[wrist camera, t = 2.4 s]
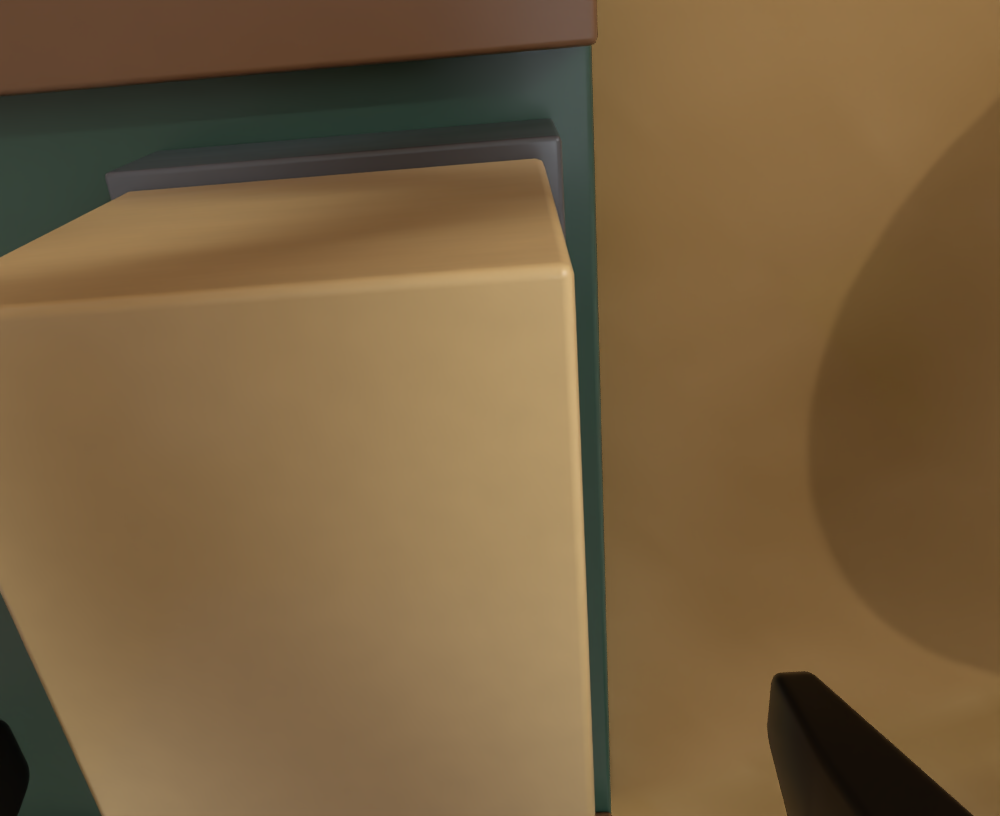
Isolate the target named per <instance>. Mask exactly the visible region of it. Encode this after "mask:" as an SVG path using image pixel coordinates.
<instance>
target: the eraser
mask: <svg viewBox="0 0 1000 816" xmlns="http://www.w3.org/2000/svg"><path fill="white" fill-rule="evenodd" d="M105 180H106V184H107V187H108V191H109V194H110V198H111V201H110V202H108V203H106V204H104V205H102V206H100V207H98V208H96V209H94V210H92V211H90V212H88V213H86V214H84V215H82V216H80V217H78V218H77V219H75V220H73V221H71V222H69V223H67V224H65V225H63V226H61V227H59V228H57V229H55V230H53V231H51V232H49V233H47V234H45V235H43V236H41V237H39V238H37V239H35V240H33V241H31V242H29V243H28V244H26V245H24V246H22V247H20V248H18V249H16V250H14V251H12V252H10V253H8V254H6V255H4V256H2V257H0V593H1V595H2V597H3V599H4V601H5V604H6V606H7V608H8V610H9V612H10V615H11V617H12V619H13V621H14V624H15V626H16V628H17V630H18V632H19V635H20V637H21V639H22V641H23V643H24V646H25V648H26V650H27V652H28V654H29V657H30V659H31V661H32V663H33V665H34V668H35V670H36V672H37V674H38V676H39V679H40V681H41V683H42V685H43V688H44V690H45V692H46V694H47V696H48V699H49V701H50V703H51V705H52V707H53V710H54V712H55V714H56V716H57V718H58V721H59V723H60V725H61V727H62V729H63V732H64V734H65V736H66V738H67V740H68V743H69V745H70V747H71V749H72V751H73V754H74V756H75V758H76V760H77V763H78V765H79V767H80V769H81V771H82V774H83V776H84V778H85V780H86V782H87V785H88V787H89V789H90V791H91V793H92V796H93V798H94V800H95V802H96V804H97V807H98V809H99V811H100V813H101V815H102V816H595V794H594V768H593V743H592V717H591V691H590V665H589V640H588V614H587V588H586V563H585V537H584V511H583V486H582V460H581V434H580V409H579V383H578V357H577V331H576V306H575V280H574V271H573V268H572V264H571V261H570V257H569V253H568V250H567V246H566V234H565V211H564V188H563V164H562V141H561V138H560V136H559V134H558V132H557V130H556V127H555V125H554V123H553V121H552V120H551V119H536V120H524V121H512V122H500V123H488V124H476V125H464V126H452V127H440V128H428V129H416V130H404V131H392V132H380V133H368V134H356V135H344V136H332V137H320V138H308V139H296V140H284V141H272V142H260V143H248V144H236V145H224V146H212V147H200V148H188V149H176V150H164V151H156V152H154V153H151V154H149V155H147V156H144V157H142V158H140V159H137V160H135V161H133V162H131V163H128V164H126V165H124V166H121V167H119V168H117V169H114V170H112V171H110V172H108V173H106V174H105Z"/></svg>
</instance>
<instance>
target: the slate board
mask: <svg viewBox="0 0 1000 816" xmlns="http://www.w3.org/2000/svg"><path fill="white" fill-rule="evenodd" d="M597 37H598V32H597V0H0V257H2V256H4V255H6V254H8V253H10V252H12V251H14V250H16V249H18V248H20V247H22V246H24V245H26V244H28V243H29V242H31V241H33V240H35V239H37V238H39V237H41V236H43V235H45V234H47V233H49V232H51V231H53V230H55V229H57V228H59V227H61V226H63V225H65V224H67V223H69V222H71V221H73V220H75V219H77V218H78V217H80V216H82V215H84V214H86V213H88V212H90V211H92V210H94V209H96V208H98V207H100V206H102V205H104V204H106V203H108V202H110V201H111V198H110V194H109V191H108V187H107V184H106V180H105V174H106V173H108V172H110V171H112V170H114V169H117V168H119V167H121V166H124V165H126V164H128V163H131V162H133V161H135V160H137V159H140V158H142V157H144V156H147V155H149V154H151V153H154V152H156V151H164V150H176V149H188V148H200V147H212V146H224V145H236V144H248V143H260V142H272V141H284V140H296V139H308V138H320V137H332V136H344V135H356V134H368V133H380V132H392V131H404V130H416V129H428V128H440V127H452V126H464V125H476V124H488V123H500V122H512V121H524V120H536V119H551V120H552V121H553V123H554V125H555V127H556V130H557V132H558V134H559V136H560V138H561V141H562V164H563V188H564V211H565V234H566V246H567V250H568V253H569V257H570V261H571V264H572V268H573V271H574V280H575V306H576V331H577V357H578V383H579V409H580V434H581V460H582V486H583V511H584V537H585V563H586V588H587V614H588V640H589V665H590V691H591V717H592V743H593V768H594V794H595V816H612V815H611V789H610V750H609V711H608V672H607V633H606V594H605V555H604V516H603V477H602V438H601V399H600V360H599V321H598V282H597V243H596V204H595V165H594V126H593V87H592V48H591V45H592V44H594V43H596V40H597ZM0 720H3V721H5V722H6V723H7V724H8V725H9V726H10V728H11V730H12V732H13V734H14V736H15V738H16V740H17V742H18V744H19V746H20V748H21V750H22V753H23V755H24V757H25V759H26V761H27V763H28V766H29V771H30V776H29V784H28V788H27V791H26V794H25V797H24V800H23V802H22V805H21V808H20V811H19V814H18V816H102V815H101V813H100V811H99V809H98V807H97V804H96V802H95V800H94V798H93V796H92V793H91V791H90V789H89V787H88V785H87V782H86V780H85V778H84V776H83V774H82V771H81V769H80V767H79V765H78V763H77V760H76V758H75V756H74V754H73V751H72V749H71V747H70V745H69V743H68V740H67V738H66V736H65V734H64V732H63V729H62V727H61V725H60V723H59V721H58V718H57V716H56V714H55V712H54V710H53V707H52V705H51V703H50V701H49V699H48V696H47V694H46V692H45V690H44V688H43V685H42V683H41V681H40V679H39V676H38V674H37V672H36V670H35V668H34V665H33V663H32V661H31V659H30V657H29V654H28V652H27V650H26V648H25V646H24V643H23V641H22V639H21V637H20V635H19V632H18V630H17V628H16V626H15V624H14V621H13V619H12V617H11V615H10V612H9V610H8V608H7V606H6V604H5V601H4V599H3V597H2V595H1V593H0Z"/></svg>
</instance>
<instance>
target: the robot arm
mask: <svg viewBox="0 0 1000 816" xmlns="http://www.w3.org/2000/svg"><path fill="white" fill-rule="evenodd" d="M767 730H768V739H769V744H770V749H771V753H772V756H773V760H774V764H775V768H776V772H777V776H778V780H779V784H780V788H781V792H782V796H783V799H784V803H785V807H786V811H787V815H788V816H973V815H972V814H971V813H970V812H969V811H968V810H966V809H965V808H964V807H963V806H962V805H961V804H960V803H959V802H957V801H956V800H955V799H954V798H953V797H952V796H951V795H950V794H948V793H947V792H946V791H945V790H944V789H943V788H942V787H940V786H939V785H938V784H937V783H936V782H935V781H934V780H933V779H931V778H930V777H929V776H928V775H927V774H926V773H925V772H924V771H922V770H921V769H920V768H919V767H918V766H917V765H916V764H915V763H913V762H912V761H911V760H910V759H909V758H908V757H907V756H905V755H904V754H903V753H902V752H901V751H900V750H899V749H898V748H896V747H895V746H894V745H893V744H892V743H891V742H890V741H889V740H887V739H886V738H885V737H884V736H883V735H882V734H881V733H879V732H878V731H877V730H876V729H875V728H874V727H873V726H872V725H870V724H869V723H868V722H867V721H866V720H865V719H864V718H863V717H861V716H860V715H859V714H858V713H857V712H856V711H855V710H854V709H852V708H851V707H850V706H849V705H848V704H847V703H846V702H844V701H843V700H842V699H841V698H840V697H839V696H838V695H837V694H835V693H834V692H833V691H832V690H831V689H830V688H829V687H828V686H826V685H825V684H824V683H823V682H822V681H821V680H820V679H819V678H817V677H816V676H815V675H813V674H812V673H810V672H805V671H804V672H786V673H778V674H776V675H774V677H773V679H772V682H771V691H770V701H769V712H768V722H767ZM29 776H30V771H29V766H28V763H27V761H26V759H25V757H24V755H23V753H22V750H21V748H20V746H19V744H18V742H17V740H16V738H15V736H14V734H13V732H12V730H11V728H10V726H9V725H8V724H7V723H6V722H5V721H3V720H0V816H18V814H19V811H20V808H21V805H22V802H23V800H24V797H25V794H26V791H27V788H28V784H29Z"/></svg>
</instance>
